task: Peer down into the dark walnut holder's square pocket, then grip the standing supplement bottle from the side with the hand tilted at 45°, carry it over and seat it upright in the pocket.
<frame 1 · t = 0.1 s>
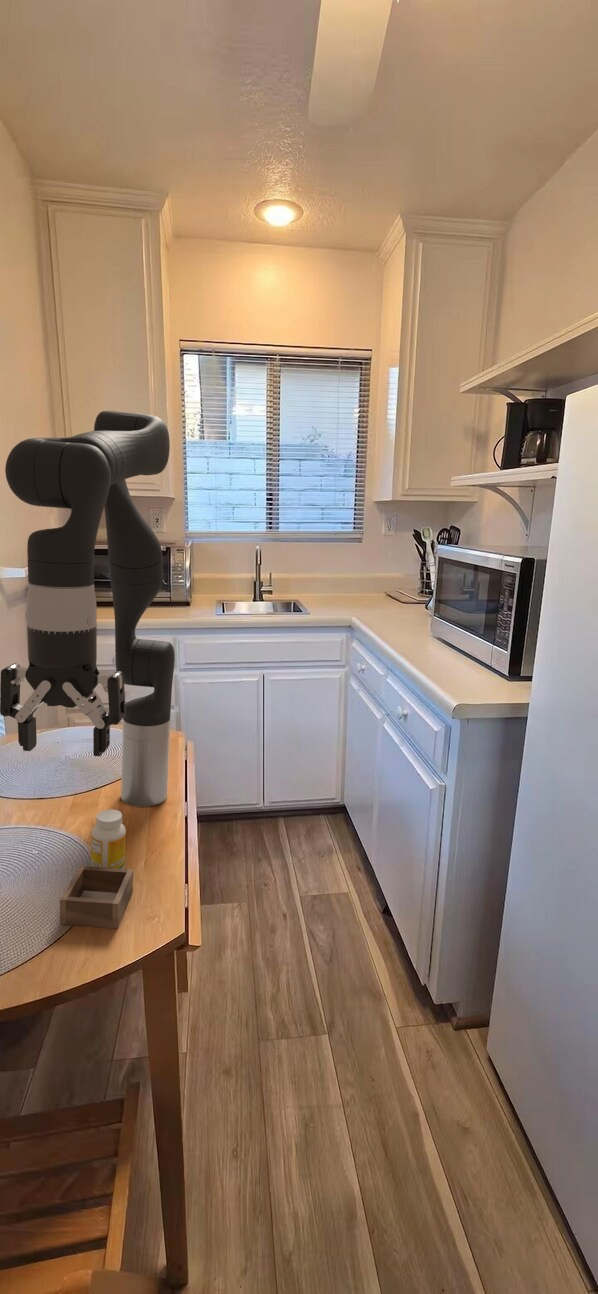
hand: (64, 751, 72), 29 cm above the table, tool pointing down, fingers open, 8 cm apart
supplement bottle: (107, 868, 98), on the table
holder: (97, 907, 88), on the table
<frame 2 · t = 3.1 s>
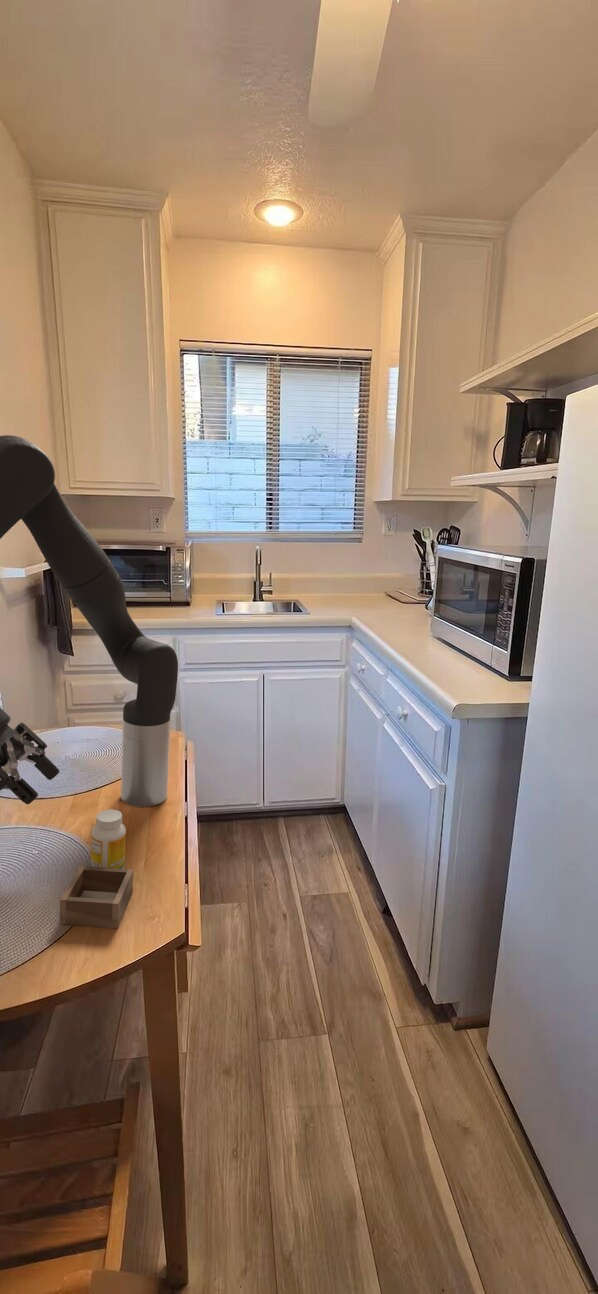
hand: (44, 787, 95), 14 cm above the table, tool tilted 45°, fingers open, 8 cm apart
nothing on the table moved.
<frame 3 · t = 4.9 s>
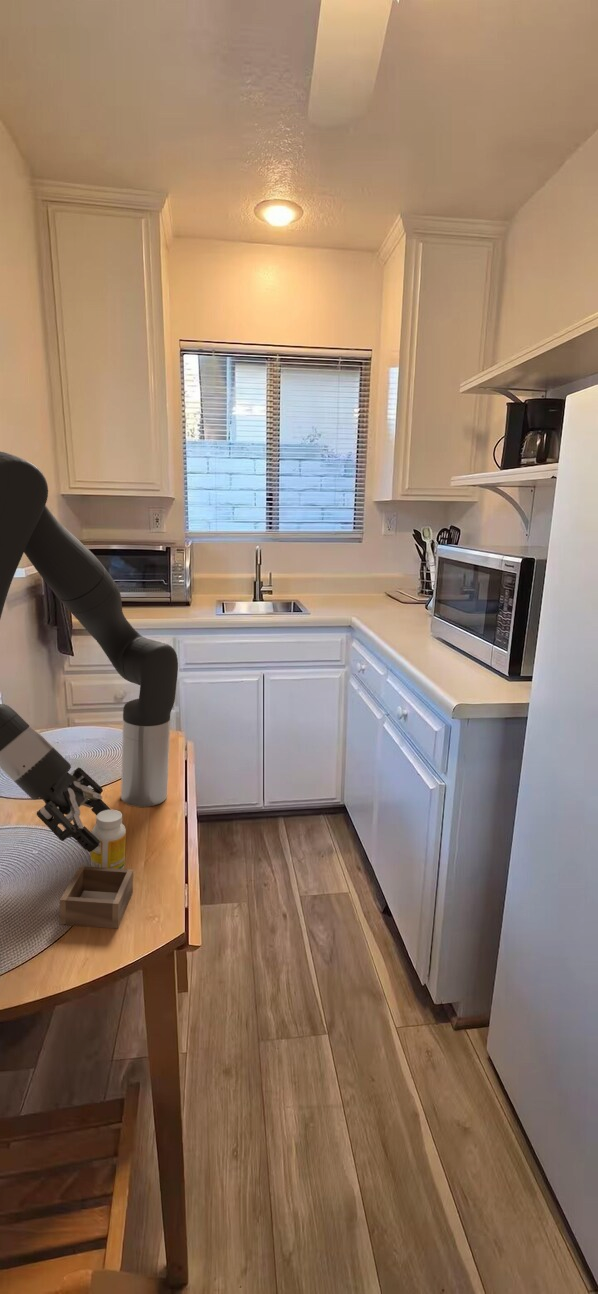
hand: (103, 833, 97), 6 cm above the table, tool tilted 45°, fingers open, 8 cm apart
nothing on the table moved.
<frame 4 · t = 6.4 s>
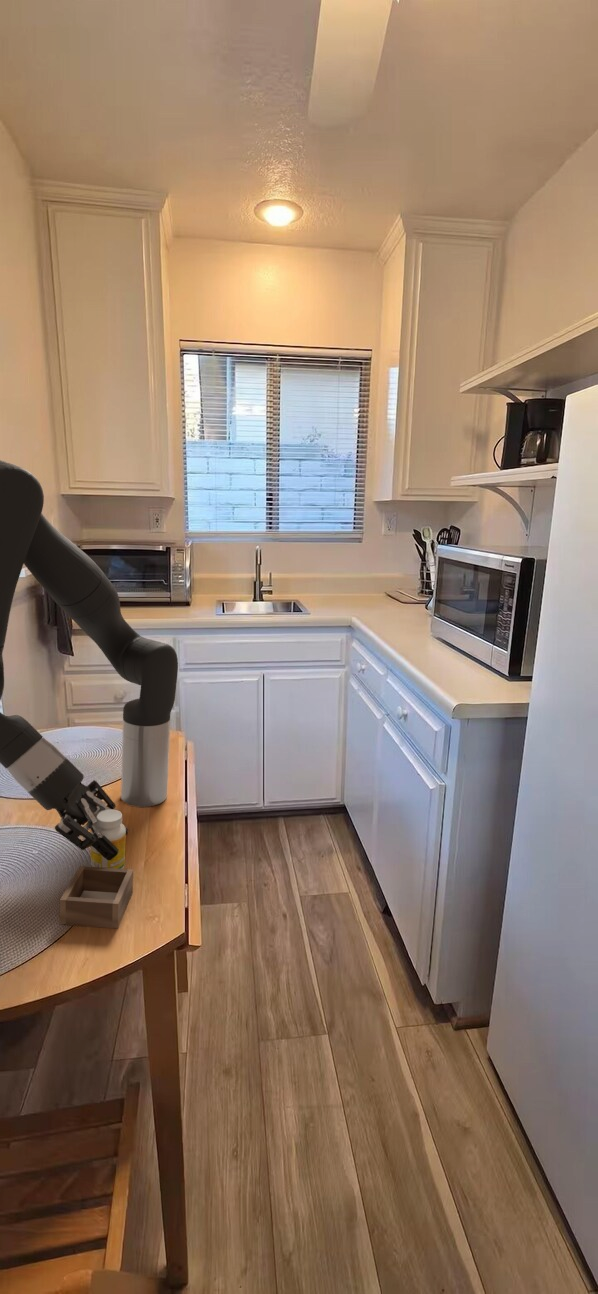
hand: (119, 845, 97), 4 cm above the table, tool tilted 45°, fingers closed on supplement bottle, 5 cm apart
supplement bottle: (107, 868, 98), on the table, touching gripper
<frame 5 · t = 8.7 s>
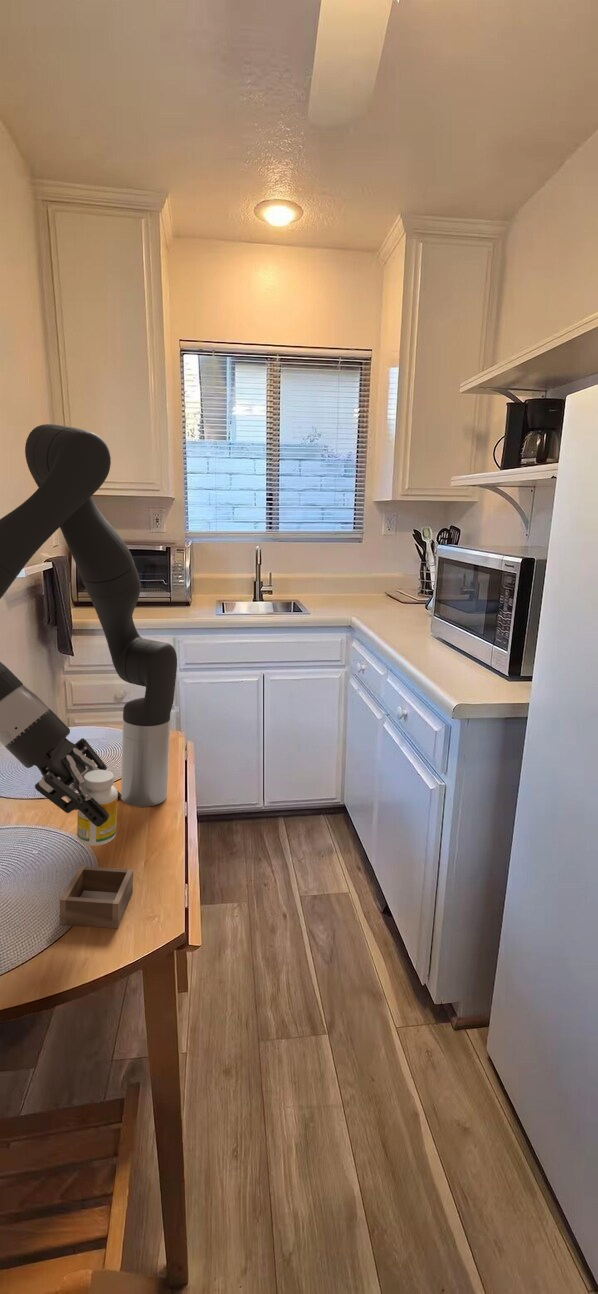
hand: (110, 811, 85), 16 cm above the table, tool tilted 45°, fingers closed on supplement bottle, 5 cm apart
supplement bottle: (96, 837, 86), point 12 cm above the table, touching gripper
when the fingers open (6 cm above the table, at t = 11.0 s): supplement bottle drops 1 cm, resting on holder.
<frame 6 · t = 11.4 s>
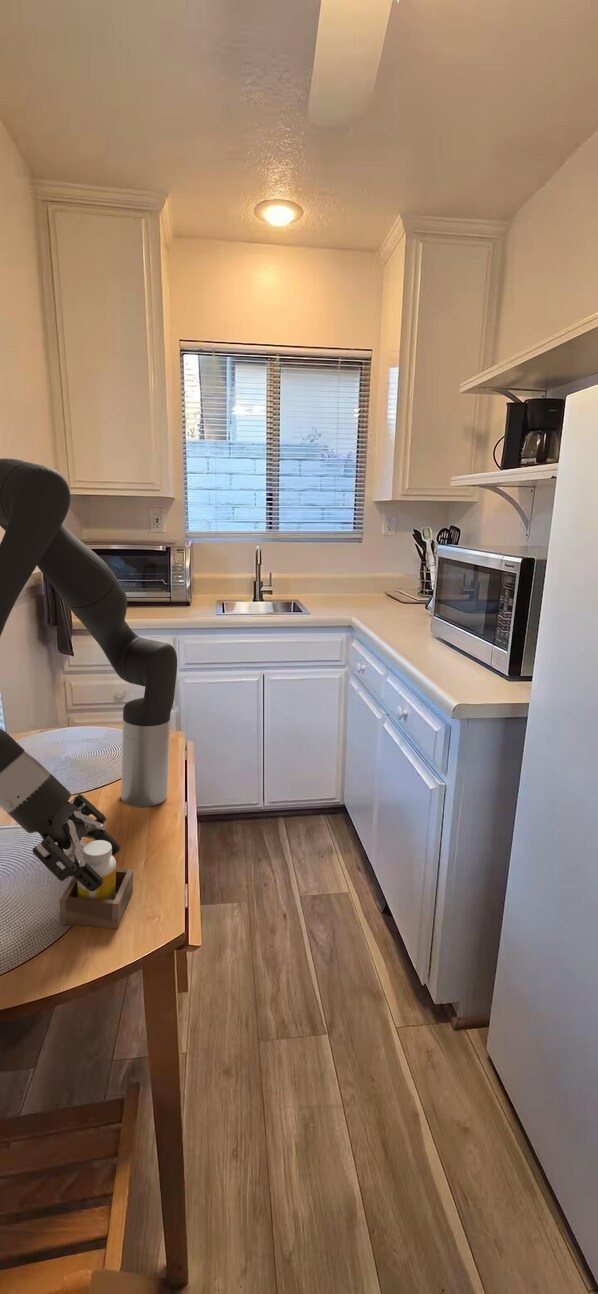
hand: (107, 868, 87), 7 cm above the table, tool tilted 45°, fingers open, 8 cm apart
supplement bottle: (96, 905, 88), resting on holder
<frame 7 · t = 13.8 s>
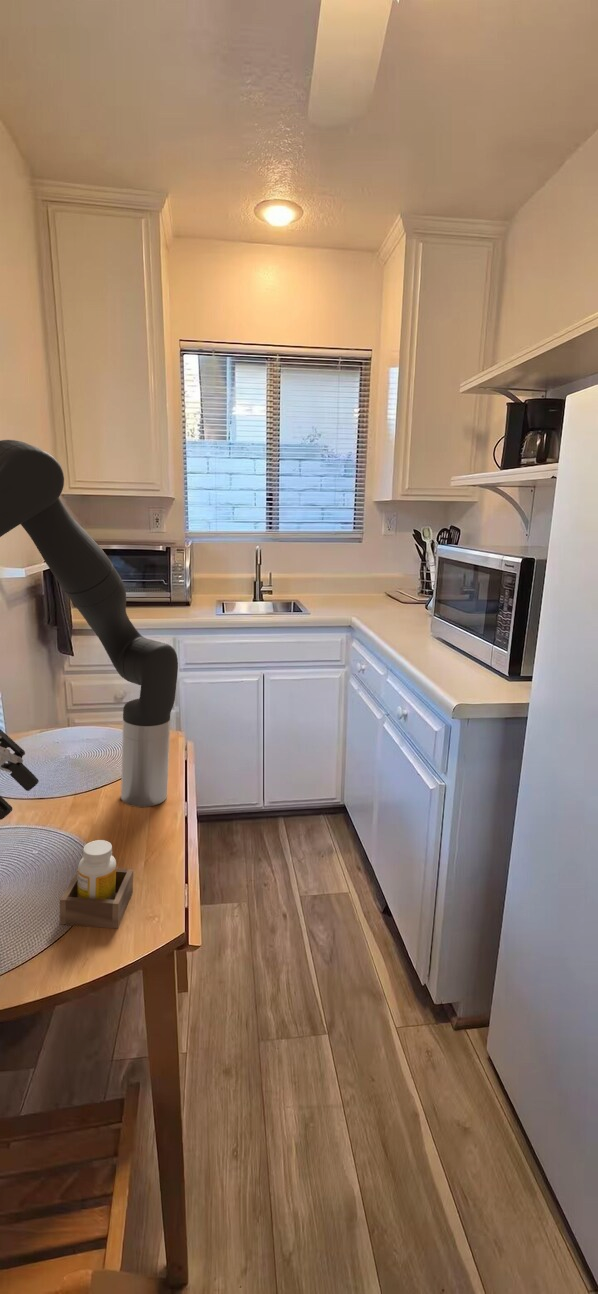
hand: (21, 800, 84), 17 cm above the table, tool tilted 45°, fingers open, 8 cm apart
nothing on the table moved.
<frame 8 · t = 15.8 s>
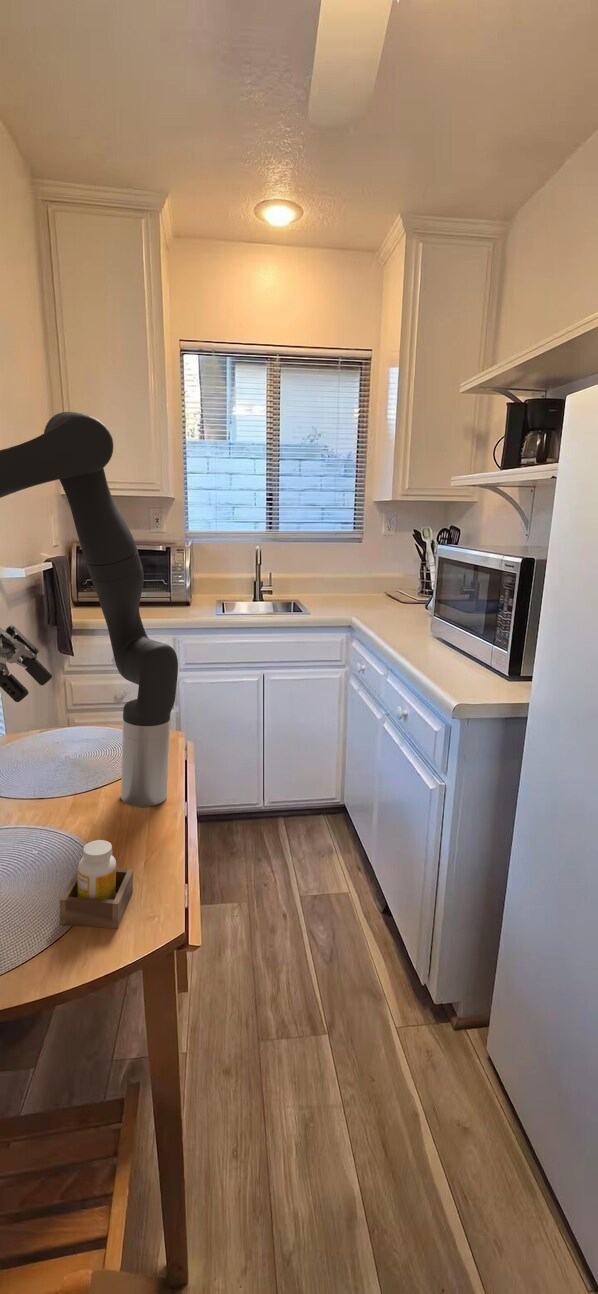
hand: (36, 689, 89), 31 cm above the table, tool tilted 45°, fingers open, 8 cm apart
nothing on the table moved.
at the end: supplement bottle 0.3 cm off-centre on the holder, point 0.2 cm above the holder's base; supplement bottle tilted 0°; the gripper is holding nothing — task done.
